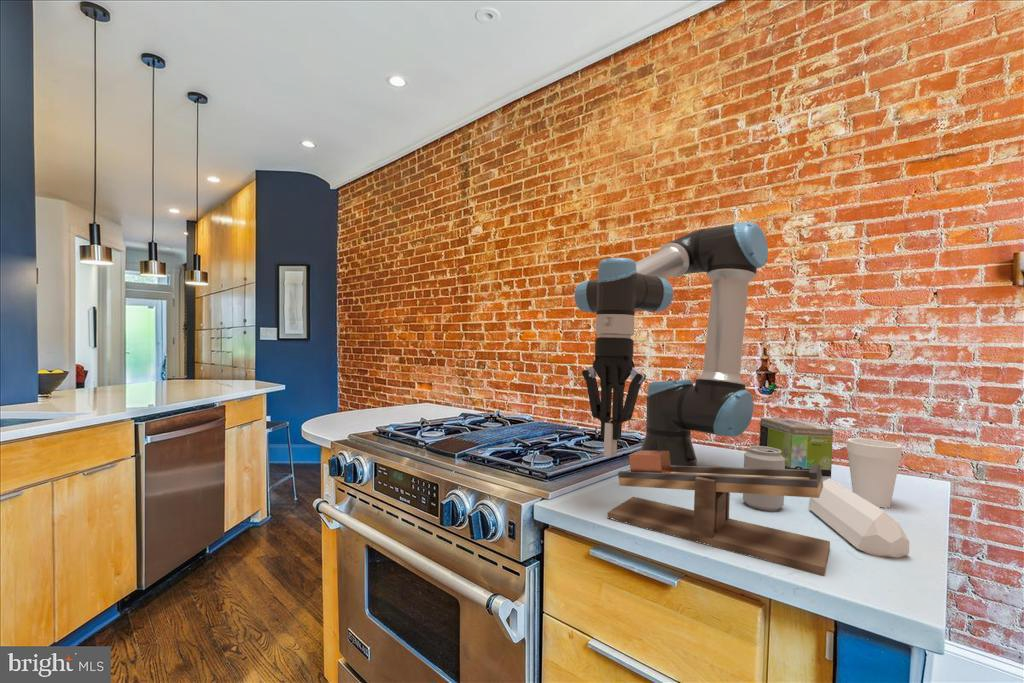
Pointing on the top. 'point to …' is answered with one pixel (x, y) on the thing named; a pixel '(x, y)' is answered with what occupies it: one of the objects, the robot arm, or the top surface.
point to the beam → (733, 480)
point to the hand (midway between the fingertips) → (610, 455)
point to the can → (768, 460)
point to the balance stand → (725, 528)
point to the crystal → (859, 521)
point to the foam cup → (873, 469)
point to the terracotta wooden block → (650, 461)
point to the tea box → (799, 443)
